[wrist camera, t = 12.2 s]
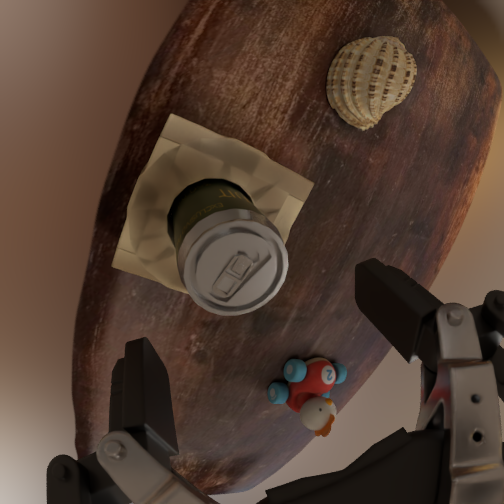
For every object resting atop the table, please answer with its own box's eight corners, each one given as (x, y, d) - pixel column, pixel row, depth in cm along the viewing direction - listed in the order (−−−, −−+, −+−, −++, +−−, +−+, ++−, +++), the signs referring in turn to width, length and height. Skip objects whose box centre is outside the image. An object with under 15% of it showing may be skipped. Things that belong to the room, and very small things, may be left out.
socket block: (169, 112, 20) (169, 108, 15) (291, 170, 24) (318, 182, 20) (117, 241, 23) (107, 268, 18) (234, 279, 28) (248, 310, 23)
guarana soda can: (211, 243, 25) (248, 332, 15) (159, 212, 23) (156, 291, 12) (248, 193, 24) (313, 253, 14) (196, 157, 22) (224, 190, 11)
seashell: (371, 117, 27) (401, 39, 20) (402, 146, 24) (441, 58, 16) (310, 104, 25) (337, 13, 18) (337, 132, 21) (375, 23, 14)
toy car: (343, 355, 38) (379, 405, 29) (311, 395, 40) (339, 444, 32) (293, 350, 34) (328, 411, 26) (261, 394, 37) (286, 452, 28)
